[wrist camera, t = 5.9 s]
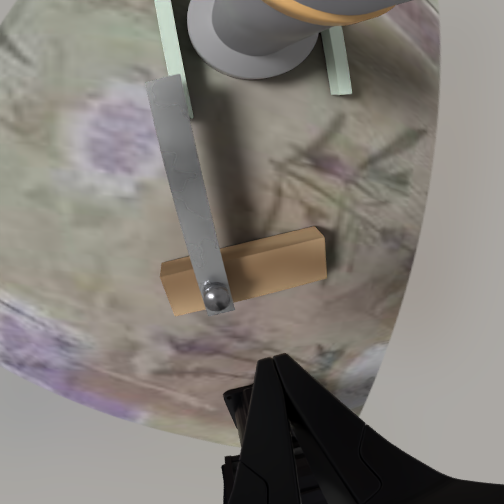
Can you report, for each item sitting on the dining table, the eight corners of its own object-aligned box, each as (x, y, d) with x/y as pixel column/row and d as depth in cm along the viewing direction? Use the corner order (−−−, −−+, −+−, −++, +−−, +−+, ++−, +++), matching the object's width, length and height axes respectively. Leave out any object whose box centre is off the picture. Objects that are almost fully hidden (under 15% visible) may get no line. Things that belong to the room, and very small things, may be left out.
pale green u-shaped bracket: (342, 93, 17) (352, 93, 16) (179, 120, 16) (178, 121, 15) (315, -46, 12) (323, -53, 11) (150, -31, 11) (148, -39, 10)
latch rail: (317, 265, 22) (326, 278, 21) (175, 300, 21) (175, 316, 20) (314, 226, 21) (324, 237, 19) (161, 263, 20) (160, 277, 18)
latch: (232, 300, 19) (237, 318, 18) (207, 306, 19) (209, 325, 18) (180, 75, 13) (179, 71, 12) (147, 83, 13) (142, 81, 12)
